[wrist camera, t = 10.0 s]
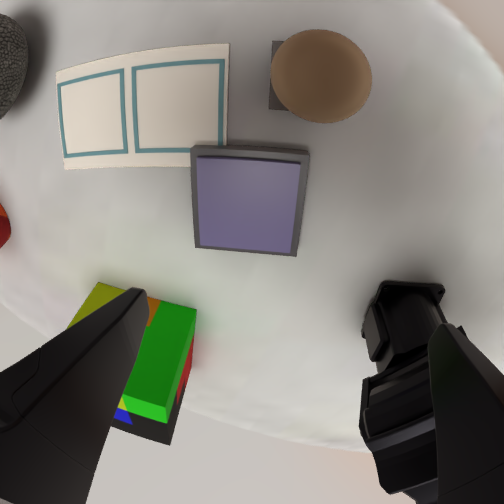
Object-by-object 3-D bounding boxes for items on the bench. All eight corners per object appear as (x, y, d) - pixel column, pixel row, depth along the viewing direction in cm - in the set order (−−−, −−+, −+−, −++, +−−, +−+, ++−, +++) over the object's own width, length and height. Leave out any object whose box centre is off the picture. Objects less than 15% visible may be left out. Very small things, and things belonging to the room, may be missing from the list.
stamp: (342, 52, 13) (395, 30, 6) (336, 114, 16) (383, 146, 8) (273, 44, 14) (264, 8, 6) (269, 106, 16) (257, 130, 8)
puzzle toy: (111, 344, 31) (79, 412, 22) (98, 281, 25) (46, 361, 17) (191, 367, 31) (170, 445, 23) (196, 309, 25) (165, 407, 17)
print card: (229, 43, 14) (228, 43, 13) (226, 167, 18) (225, 168, 18) (57, 71, 14) (54, 72, 14) (66, 169, 19) (64, 170, 19)
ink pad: (308, 150, 17) (310, 157, 16) (296, 247, 21) (296, 260, 20) (195, 144, 17) (188, 150, 16) (199, 238, 21) (193, 250, 20)
